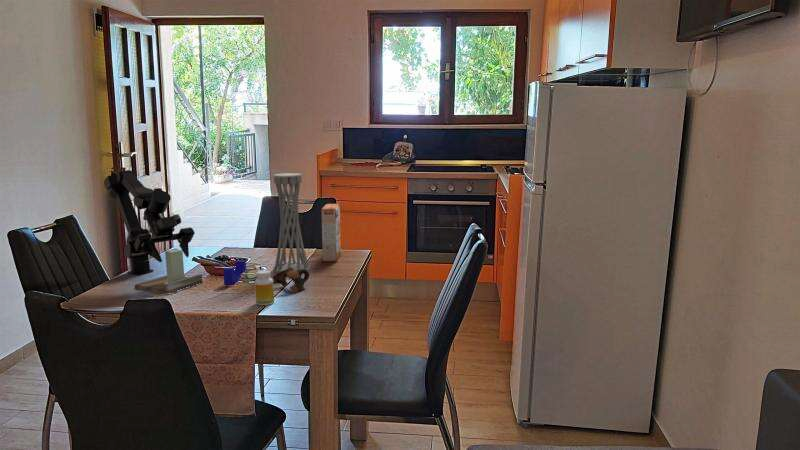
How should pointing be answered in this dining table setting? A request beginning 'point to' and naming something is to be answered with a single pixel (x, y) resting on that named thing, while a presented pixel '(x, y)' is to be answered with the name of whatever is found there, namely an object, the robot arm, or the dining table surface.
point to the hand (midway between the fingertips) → (174, 259)
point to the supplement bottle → (264, 288)
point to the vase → (289, 223)
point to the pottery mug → (293, 275)
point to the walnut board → (169, 284)
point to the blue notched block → (234, 273)
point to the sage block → (174, 265)
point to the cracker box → (331, 232)
